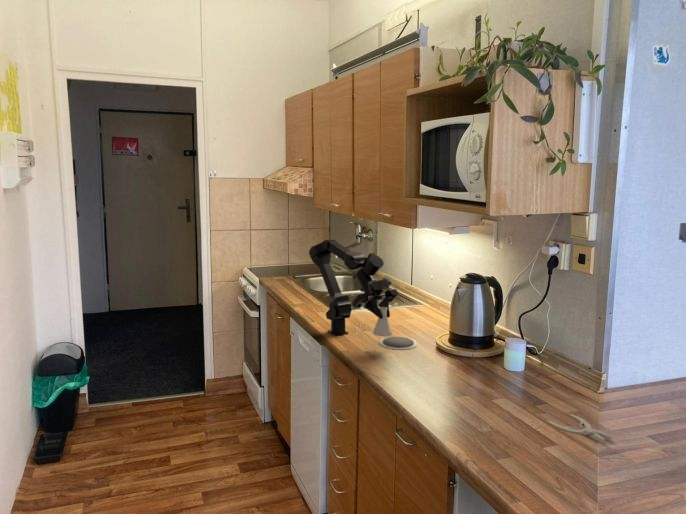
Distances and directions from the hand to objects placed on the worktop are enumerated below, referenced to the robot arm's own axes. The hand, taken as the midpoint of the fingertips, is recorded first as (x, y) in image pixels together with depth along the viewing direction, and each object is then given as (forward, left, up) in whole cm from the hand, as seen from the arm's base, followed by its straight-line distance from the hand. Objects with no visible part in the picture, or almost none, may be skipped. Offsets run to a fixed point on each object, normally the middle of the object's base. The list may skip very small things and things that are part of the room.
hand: (385, 317), depth 206 cm
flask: (-1, 0, -7) cm, 7 cm away
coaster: (-6, +11, -13) cm, 18 cm away
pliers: (+76, +12, -14) cm, 78 cm away
